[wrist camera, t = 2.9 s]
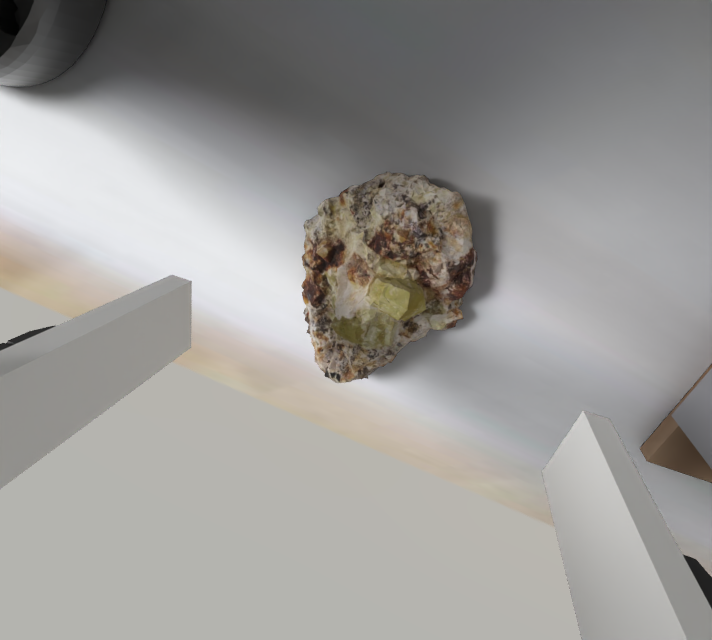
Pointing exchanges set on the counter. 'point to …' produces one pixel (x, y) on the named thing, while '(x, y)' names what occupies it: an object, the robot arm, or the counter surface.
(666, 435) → the frame
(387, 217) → the mineral rock
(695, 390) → the trapdoor
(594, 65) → the counter surface
